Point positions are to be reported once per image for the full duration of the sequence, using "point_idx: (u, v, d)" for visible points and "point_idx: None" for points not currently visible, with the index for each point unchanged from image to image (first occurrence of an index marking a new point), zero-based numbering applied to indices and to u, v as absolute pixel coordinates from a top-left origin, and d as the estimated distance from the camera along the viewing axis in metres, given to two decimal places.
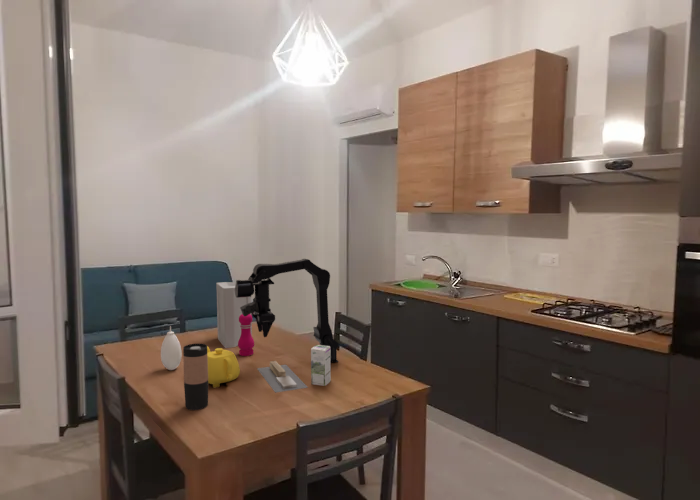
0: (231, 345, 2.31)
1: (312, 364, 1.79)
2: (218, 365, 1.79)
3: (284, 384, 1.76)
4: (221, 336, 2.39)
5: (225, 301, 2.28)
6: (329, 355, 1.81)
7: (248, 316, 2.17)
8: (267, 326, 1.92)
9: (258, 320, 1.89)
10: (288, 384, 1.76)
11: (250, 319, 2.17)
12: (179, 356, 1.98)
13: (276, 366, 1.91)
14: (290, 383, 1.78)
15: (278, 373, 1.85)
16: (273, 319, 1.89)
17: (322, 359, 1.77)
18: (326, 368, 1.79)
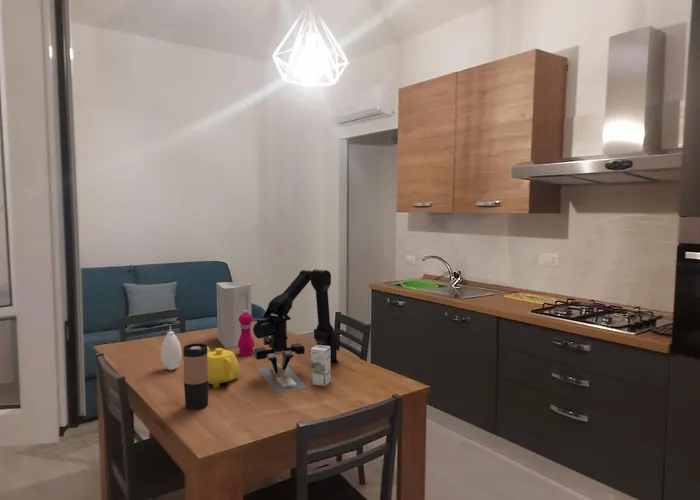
0: (231, 345, 2.31)
1: (312, 364, 1.79)
2: (218, 365, 1.79)
3: (284, 384, 1.76)
4: (221, 336, 2.39)
5: (225, 301, 2.28)
6: (329, 355, 1.81)
7: (248, 316, 2.17)
8: (273, 363, 1.86)
9: None
10: (288, 384, 1.76)
11: (250, 319, 2.17)
12: (179, 356, 1.98)
13: None
14: (290, 383, 1.78)
15: (278, 373, 1.85)
16: (256, 357, 1.82)
17: (322, 359, 1.77)
18: (326, 368, 1.79)
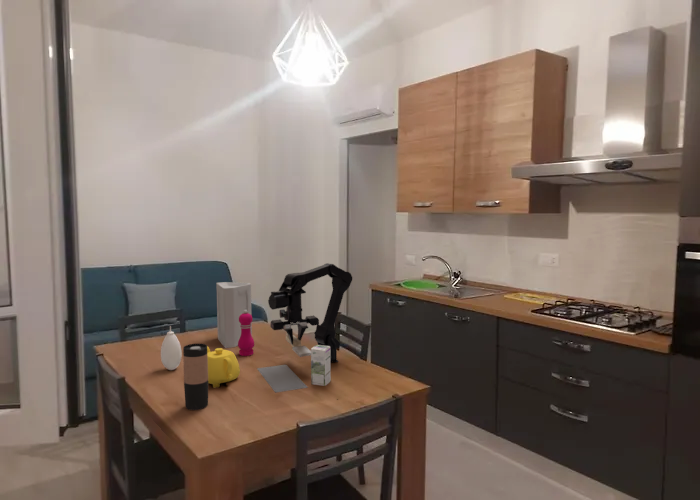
0: (231, 345, 2.31)
1: (312, 364, 1.79)
2: (218, 365, 1.79)
3: (300, 352, 1.87)
4: (221, 336, 2.39)
5: (225, 301, 2.28)
6: (329, 355, 1.81)
7: (248, 316, 2.17)
8: (289, 334, 1.97)
9: None
10: (304, 352, 1.87)
11: (250, 319, 2.17)
12: (179, 356, 1.98)
13: None
14: (305, 351, 1.88)
15: (294, 343, 1.96)
16: (273, 328, 1.92)
17: (322, 359, 1.77)
18: (326, 368, 1.79)
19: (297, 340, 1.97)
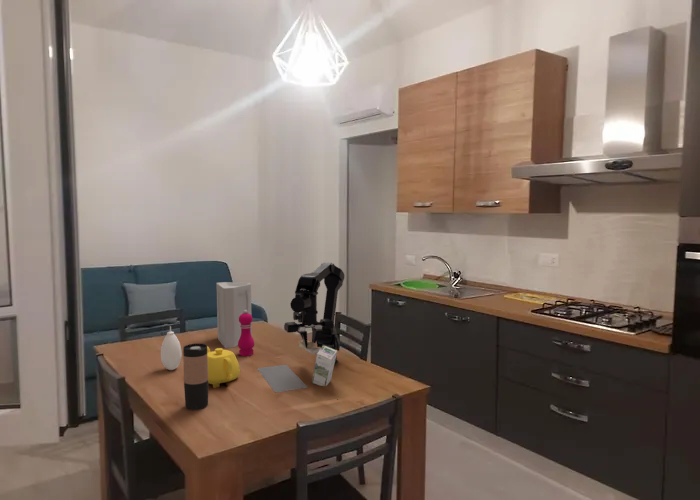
0: (231, 345, 2.31)
1: (316, 366, 1.75)
2: (218, 365, 1.79)
3: (315, 351, 1.80)
4: (221, 336, 2.39)
5: (225, 301, 2.28)
6: (334, 359, 1.76)
7: (248, 316, 2.17)
8: (303, 337, 1.90)
9: None
10: None
11: (250, 319, 2.17)
12: (179, 356, 1.98)
13: None
14: None
15: (308, 345, 1.89)
16: (287, 331, 1.86)
17: (327, 366, 1.73)
18: (330, 372, 1.76)
19: (311, 343, 1.90)
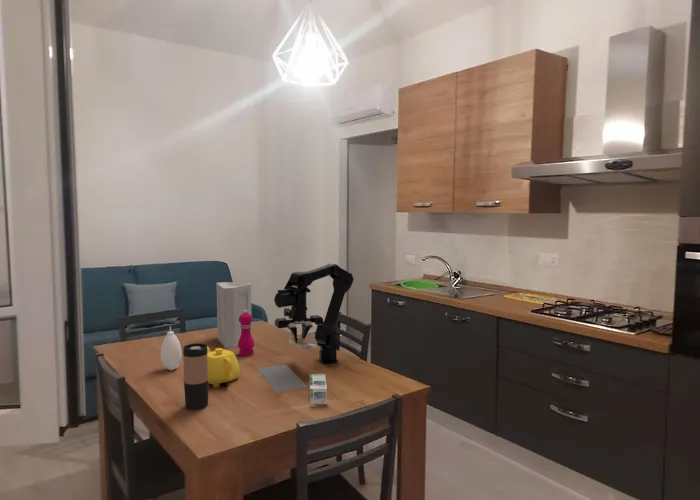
0: (231, 345, 2.31)
1: None
2: (218, 365, 1.79)
3: (304, 345, 1.86)
4: (221, 336, 2.39)
5: (225, 301, 2.28)
6: None
7: (248, 316, 2.17)
8: (293, 332, 1.96)
9: None
10: (308, 345, 1.86)
11: (250, 319, 2.17)
12: (179, 356, 1.98)
13: None
14: (310, 345, 1.87)
15: (298, 341, 1.95)
16: (278, 326, 1.91)
17: None
18: None
19: (301, 338, 1.96)
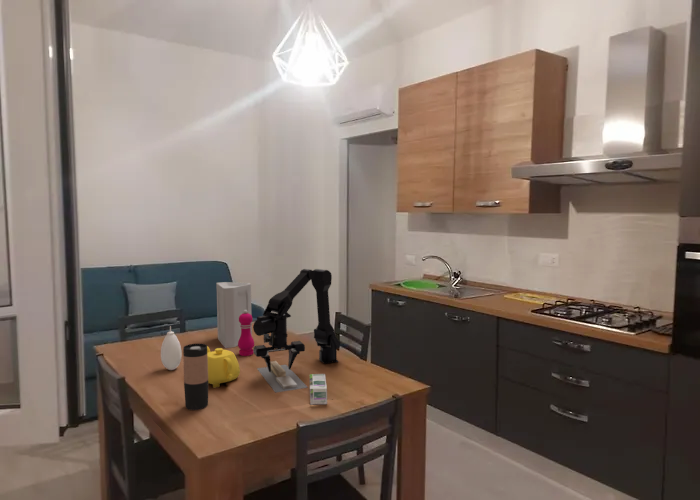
0: (231, 345, 2.31)
1: None
2: (218, 365, 1.79)
3: (284, 384, 1.76)
4: (221, 336, 2.39)
5: (225, 301, 2.28)
6: None
7: (248, 316, 2.17)
8: None
9: None
10: (288, 384, 1.76)
11: (250, 319, 2.17)
12: (179, 356, 1.98)
13: (276, 366, 1.91)
14: (290, 383, 1.77)
15: (278, 373, 1.85)
16: (256, 355, 1.82)
17: None
18: None
19: (281, 370, 1.86)
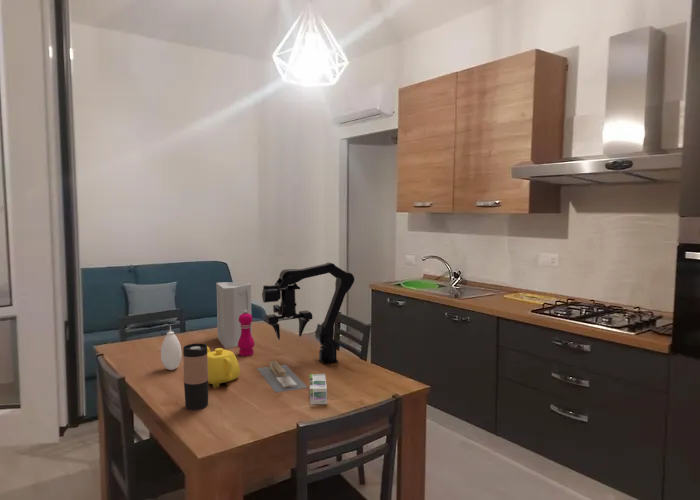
0: (231, 345, 2.31)
1: None
2: (218, 365, 1.79)
3: (284, 384, 1.76)
4: (221, 336, 2.39)
5: (225, 301, 2.28)
6: None
7: (248, 316, 2.17)
8: (275, 329, 2.00)
9: None
10: (288, 384, 1.76)
11: (250, 319, 2.17)
12: (179, 356, 1.98)
13: (276, 366, 1.91)
14: (290, 383, 1.77)
15: (278, 373, 1.85)
16: (268, 323, 1.96)
17: None
18: None
19: (281, 370, 1.86)
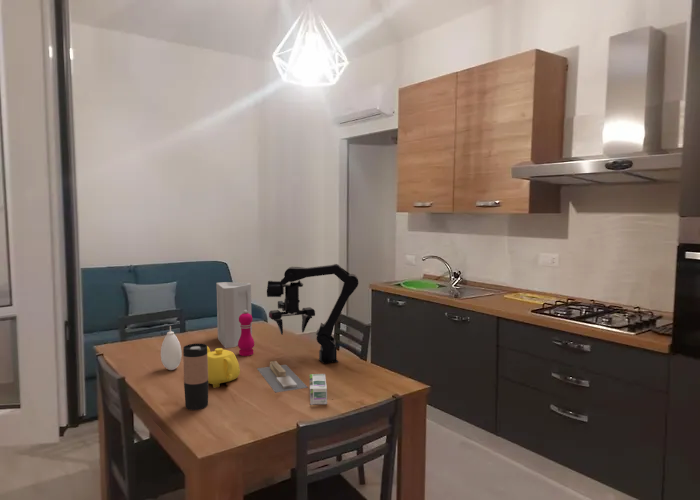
0: (231, 345, 2.31)
1: None
2: (218, 365, 1.79)
3: (284, 384, 1.76)
4: (221, 336, 2.39)
5: (225, 301, 2.28)
6: None
7: (248, 316, 2.17)
8: (279, 324, 2.06)
9: None
10: (288, 384, 1.76)
11: (250, 319, 2.17)
12: (179, 356, 1.98)
13: (276, 366, 1.91)
14: (290, 383, 1.77)
15: (278, 373, 1.85)
16: (272, 318, 2.03)
17: None
18: None
19: (281, 370, 1.86)
